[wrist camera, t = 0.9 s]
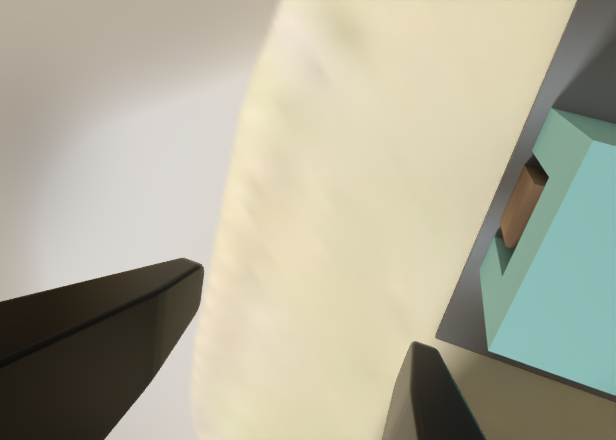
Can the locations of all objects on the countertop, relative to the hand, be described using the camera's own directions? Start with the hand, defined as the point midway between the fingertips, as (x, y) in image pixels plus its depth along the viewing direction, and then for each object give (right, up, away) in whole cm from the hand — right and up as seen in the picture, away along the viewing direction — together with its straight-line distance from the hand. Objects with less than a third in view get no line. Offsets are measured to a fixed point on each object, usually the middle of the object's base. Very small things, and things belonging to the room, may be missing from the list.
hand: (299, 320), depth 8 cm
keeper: (+11, +2, +9) cm, 14 cm away
